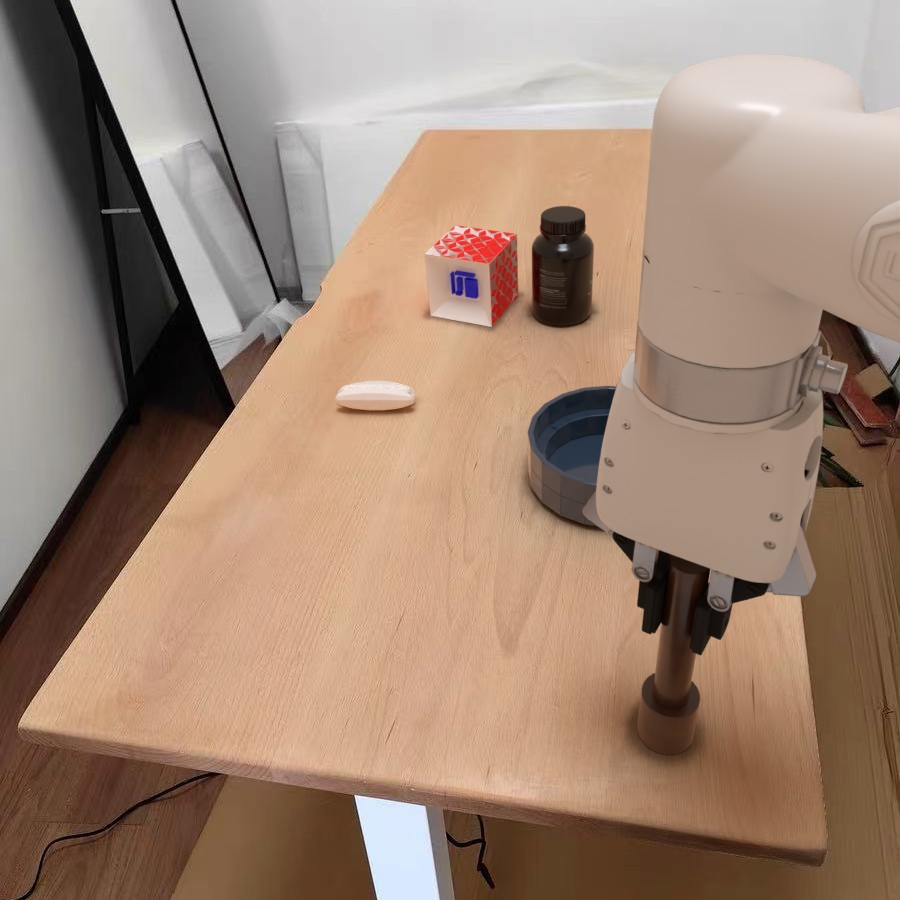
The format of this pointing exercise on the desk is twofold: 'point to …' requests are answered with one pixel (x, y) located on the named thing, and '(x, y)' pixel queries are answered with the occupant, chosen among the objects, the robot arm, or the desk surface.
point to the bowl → (568, 449)
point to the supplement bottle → (562, 268)
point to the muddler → (674, 665)
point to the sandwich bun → (375, 396)
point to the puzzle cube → (472, 275)
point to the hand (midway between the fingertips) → (680, 625)
